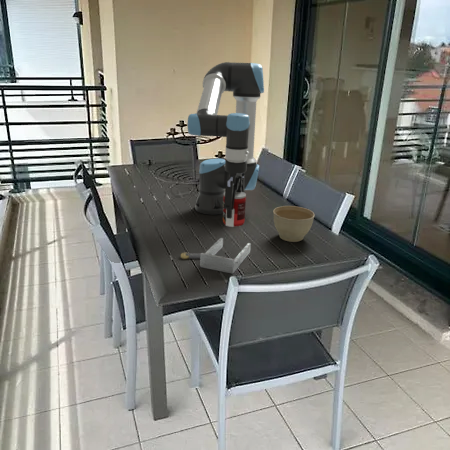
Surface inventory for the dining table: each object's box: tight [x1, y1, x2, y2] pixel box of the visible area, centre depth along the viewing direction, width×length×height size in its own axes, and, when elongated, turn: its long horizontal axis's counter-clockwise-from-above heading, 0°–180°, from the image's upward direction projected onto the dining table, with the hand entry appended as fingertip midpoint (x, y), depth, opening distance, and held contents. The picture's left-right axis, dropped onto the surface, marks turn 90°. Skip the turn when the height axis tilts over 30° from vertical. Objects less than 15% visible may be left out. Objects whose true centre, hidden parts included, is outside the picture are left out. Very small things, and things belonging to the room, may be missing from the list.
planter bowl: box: [272, 205, 315, 243], centre depth 180 cm, size 16×16×11 cm
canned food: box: [222, 191, 247, 227], centre depth 161 cm, size 8×8×11 cm
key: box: [180, 252, 202, 260], centre depth 162 cm, size 8×3×1 cm, turn 94°
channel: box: [199, 237, 252, 274], centre depth 161 cm, size 12×19×5 cm, turn 159°
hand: (233, 222), depth 163 cm, fingers closed on canned food, 8 cm apart
